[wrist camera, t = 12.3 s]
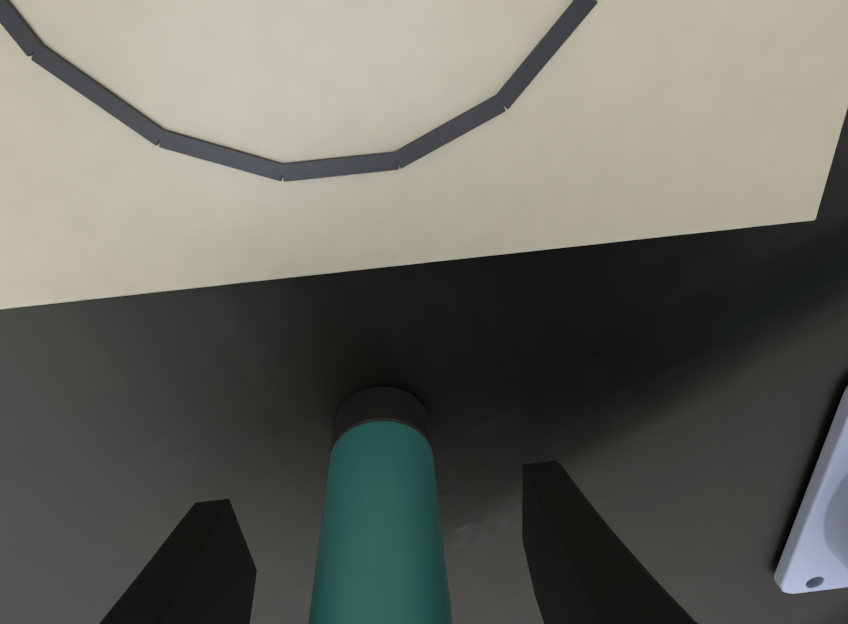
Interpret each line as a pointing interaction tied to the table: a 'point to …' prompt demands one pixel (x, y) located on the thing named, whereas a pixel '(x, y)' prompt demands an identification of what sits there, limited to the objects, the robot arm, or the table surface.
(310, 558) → the table surface
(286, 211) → the drawing pad
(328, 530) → the marker
